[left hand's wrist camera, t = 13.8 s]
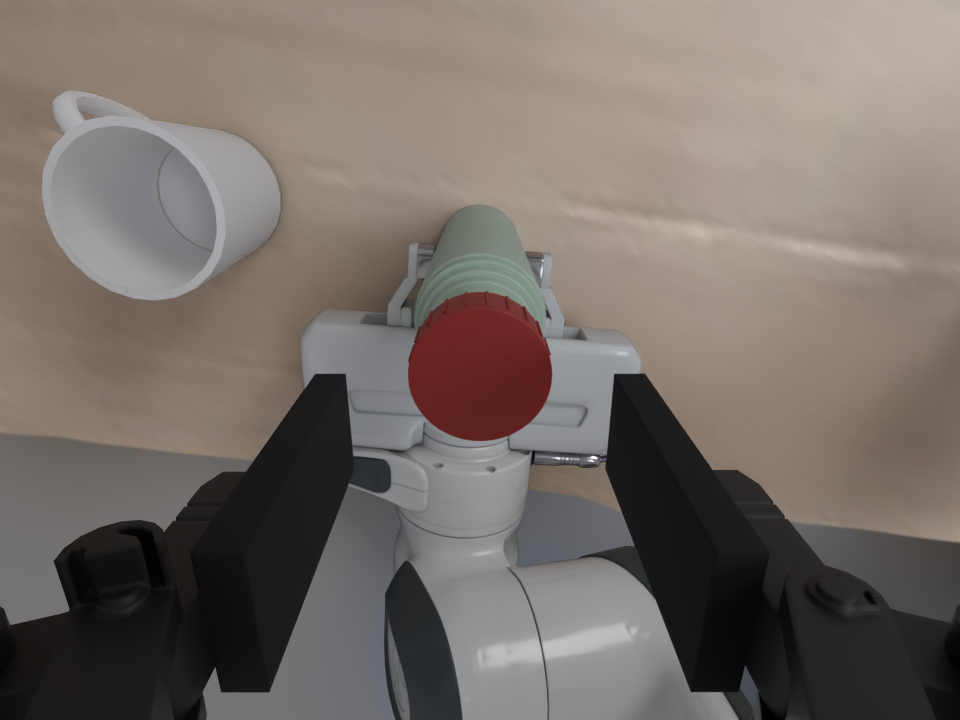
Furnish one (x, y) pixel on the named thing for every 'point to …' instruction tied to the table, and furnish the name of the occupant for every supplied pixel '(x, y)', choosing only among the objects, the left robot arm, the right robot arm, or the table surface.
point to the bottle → (479, 264)
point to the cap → (480, 367)
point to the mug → (153, 198)
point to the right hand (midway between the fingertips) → (480, 248)
